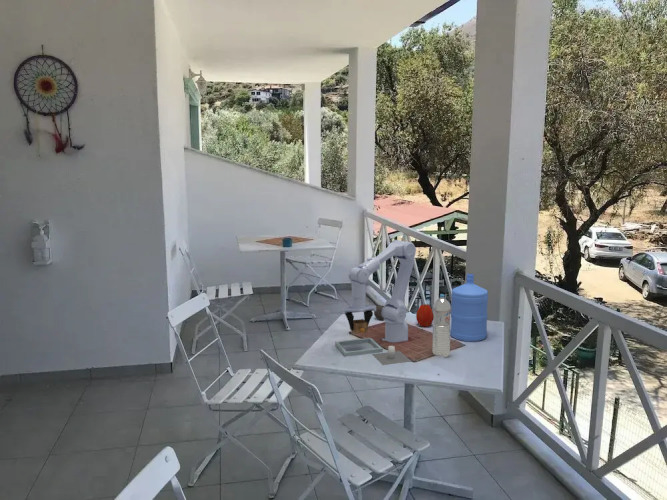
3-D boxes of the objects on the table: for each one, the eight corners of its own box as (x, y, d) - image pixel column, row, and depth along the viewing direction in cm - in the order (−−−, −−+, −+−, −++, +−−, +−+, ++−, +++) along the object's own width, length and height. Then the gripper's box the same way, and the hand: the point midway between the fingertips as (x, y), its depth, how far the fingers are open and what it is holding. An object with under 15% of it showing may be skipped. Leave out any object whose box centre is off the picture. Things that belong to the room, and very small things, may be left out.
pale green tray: (370, 343, 231) (370, 337, 230) (382, 354, 218) (382, 348, 217) (335, 347, 227) (335, 341, 226) (345, 358, 213) (344, 352, 213)
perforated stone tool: (405, 321, 262) (405, 307, 261) (401, 324, 258) (401, 310, 257) (377, 317, 270) (377, 303, 269) (373, 319, 265) (373, 306, 264)
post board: (399, 353, 219) (399, 340, 218) (411, 363, 207) (411, 350, 206) (371, 356, 215) (371, 343, 214) (382, 367, 204) (382, 353, 203)
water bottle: (439, 359, 211) (440, 297, 207) (428, 354, 217) (429, 294, 213) (453, 356, 214) (454, 295, 210) (442, 351, 220) (443, 291, 216)
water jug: (485, 343, 229) (487, 279, 224) (448, 340, 234) (449, 277, 229) (487, 332, 243) (489, 272, 239) (452, 329, 248) (453, 270, 244)
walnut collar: (363, 328, 224) (363, 319, 223) (369, 333, 217) (369, 324, 216) (350, 329, 222) (350, 320, 222) (356, 335, 215) (356, 325, 214)
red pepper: (423, 321, 261) (423, 300, 259) (437, 325, 255) (437, 303, 253) (412, 325, 255) (412, 303, 253) (426, 329, 249) (426, 306, 247)
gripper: (344, 300, 212) (344, 333, 215) (378, 297, 216) (378, 330, 219) (339, 296, 219) (339, 328, 221) (372, 293, 223) (372, 325, 225)
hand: (358, 329), depth 220 cm, fingers closed on walnut collar, 6 cm apart
